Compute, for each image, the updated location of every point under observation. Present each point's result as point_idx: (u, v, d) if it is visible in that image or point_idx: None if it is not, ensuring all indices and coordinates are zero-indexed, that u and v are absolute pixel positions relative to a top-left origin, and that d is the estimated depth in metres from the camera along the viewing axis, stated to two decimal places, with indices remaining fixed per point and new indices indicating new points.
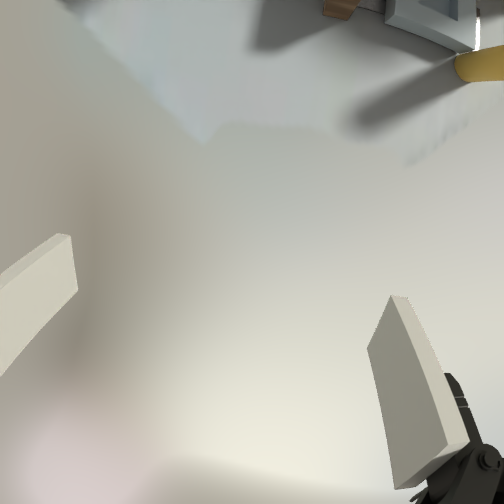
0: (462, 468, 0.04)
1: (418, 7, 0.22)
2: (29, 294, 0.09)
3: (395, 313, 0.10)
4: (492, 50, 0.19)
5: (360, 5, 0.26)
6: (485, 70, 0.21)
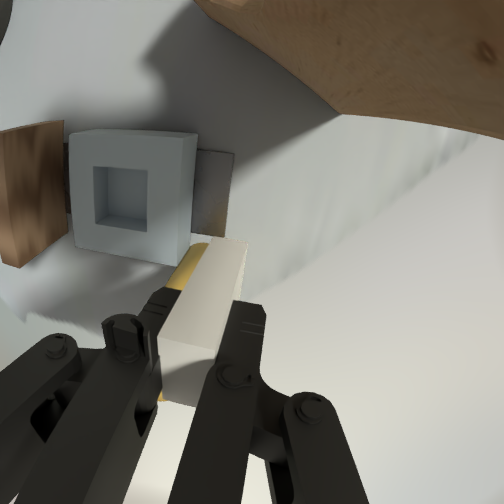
0: (202, 391, 0.06)
1: (95, 229, 0.26)
2: None
3: (225, 252, 0.12)
4: None
5: None
6: None
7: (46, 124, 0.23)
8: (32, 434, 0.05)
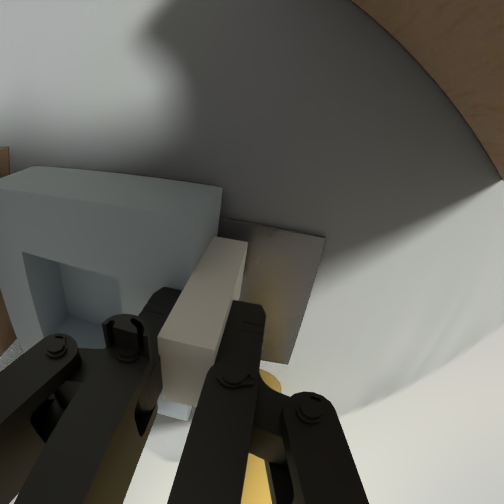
0: (201, 391, 0.06)
1: None
2: None
3: (225, 252, 0.12)
4: None
5: None
6: None
7: None
8: (32, 434, 0.05)
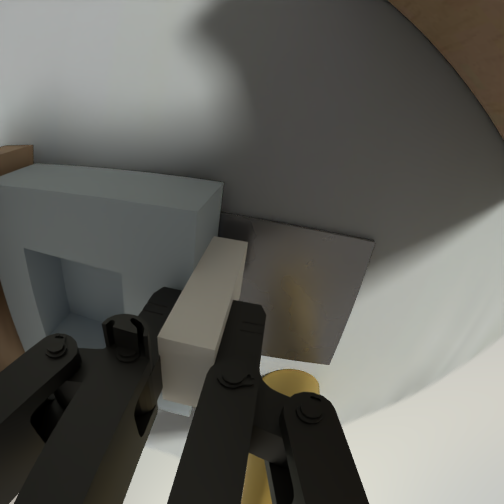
0: (202, 391, 0.06)
1: None
2: None
3: (225, 252, 0.12)
4: None
5: None
6: None
7: None
8: (32, 434, 0.05)
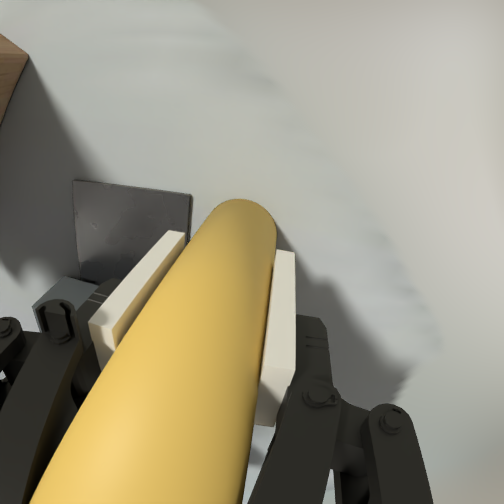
0: (286, 408, 0.06)
1: None
2: None
3: (274, 263, 0.12)
4: None
5: None
6: None
7: None
8: None
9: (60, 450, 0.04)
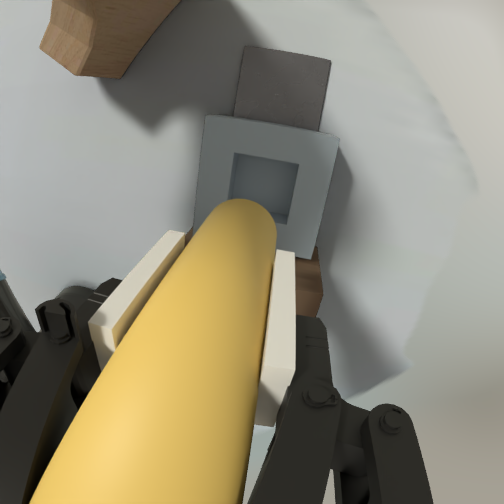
0: (285, 409, 0.06)
1: (293, 226, 0.27)
2: None
3: (274, 263, 0.12)
4: None
5: None
6: None
7: (188, 233, 0.30)
8: None
9: (61, 448, 0.04)
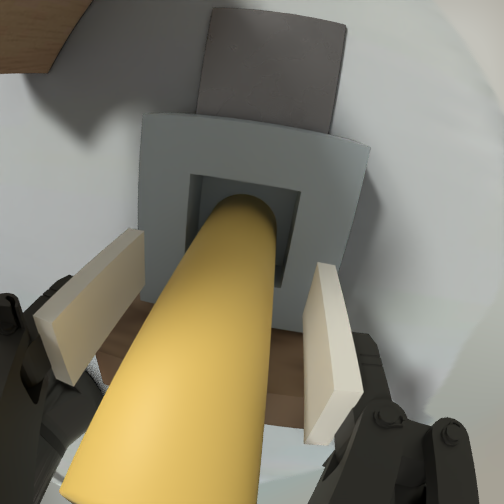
0: (356, 427, 0.06)
1: (290, 289, 0.17)
2: (111, 288, 0.10)
3: (318, 277, 0.11)
4: None
5: None
6: None
7: None
8: None
9: (97, 420, 0.05)
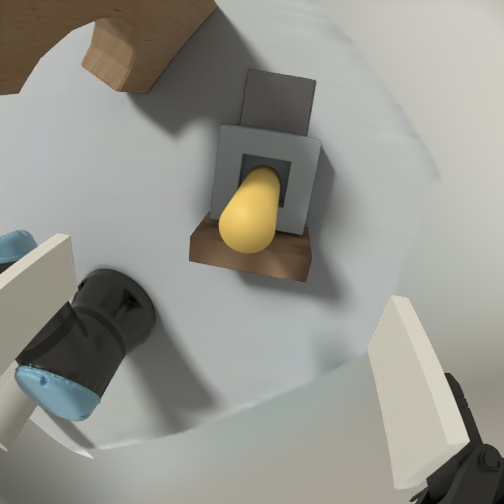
0: (463, 468, 0.04)
1: (287, 208, 0.35)
2: (29, 294, 0.09)
3: (395, 313, 0.10)
4: None
5: None
6: None
7: (205, 217, 0.38)
8: None
9: (233, 198, 0.23)
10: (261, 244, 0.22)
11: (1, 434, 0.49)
